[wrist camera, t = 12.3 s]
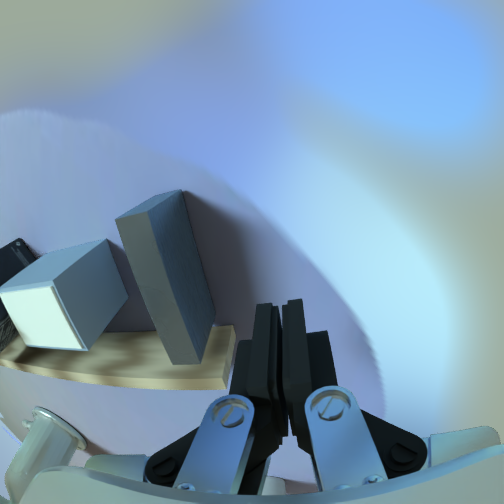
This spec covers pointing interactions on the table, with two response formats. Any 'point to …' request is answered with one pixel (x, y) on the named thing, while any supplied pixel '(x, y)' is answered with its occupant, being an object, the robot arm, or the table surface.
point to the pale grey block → (65, 297)
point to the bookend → (169, 274)
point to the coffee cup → (274, 486)
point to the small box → (3, 269)
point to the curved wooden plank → (128, 361)
